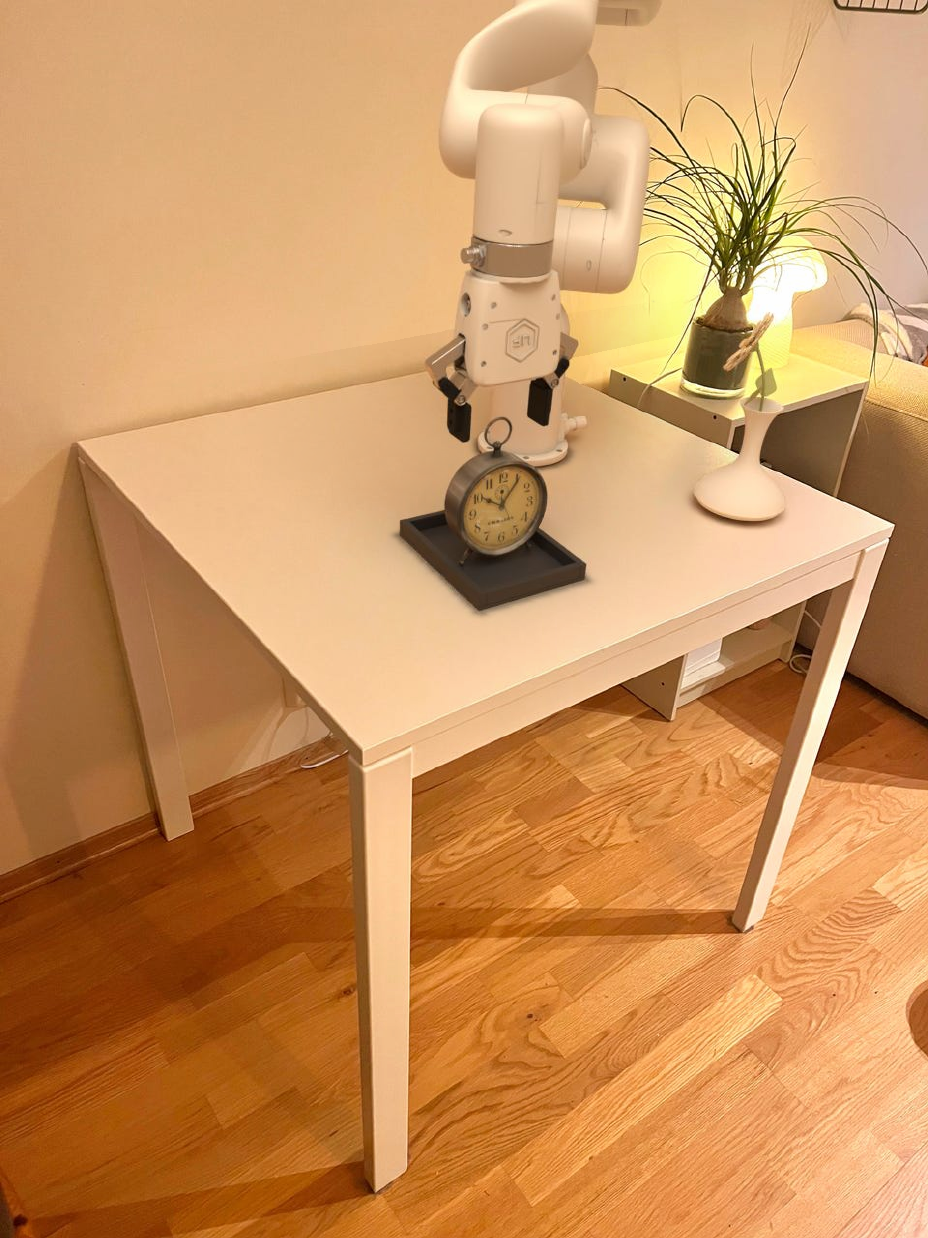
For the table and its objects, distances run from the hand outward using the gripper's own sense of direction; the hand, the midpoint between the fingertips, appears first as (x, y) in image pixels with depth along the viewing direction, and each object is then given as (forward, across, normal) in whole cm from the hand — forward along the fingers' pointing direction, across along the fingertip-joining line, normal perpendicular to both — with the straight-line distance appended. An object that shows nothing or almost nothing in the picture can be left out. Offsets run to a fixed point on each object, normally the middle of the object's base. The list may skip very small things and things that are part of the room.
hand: (499, 429), depth 95 cm
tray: (+15, 0, 0) cm, 15 cm away
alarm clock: (+15, 0, 0) cm, 15 cm away
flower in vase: (+16, +34, -4) cm, 37 cm away
